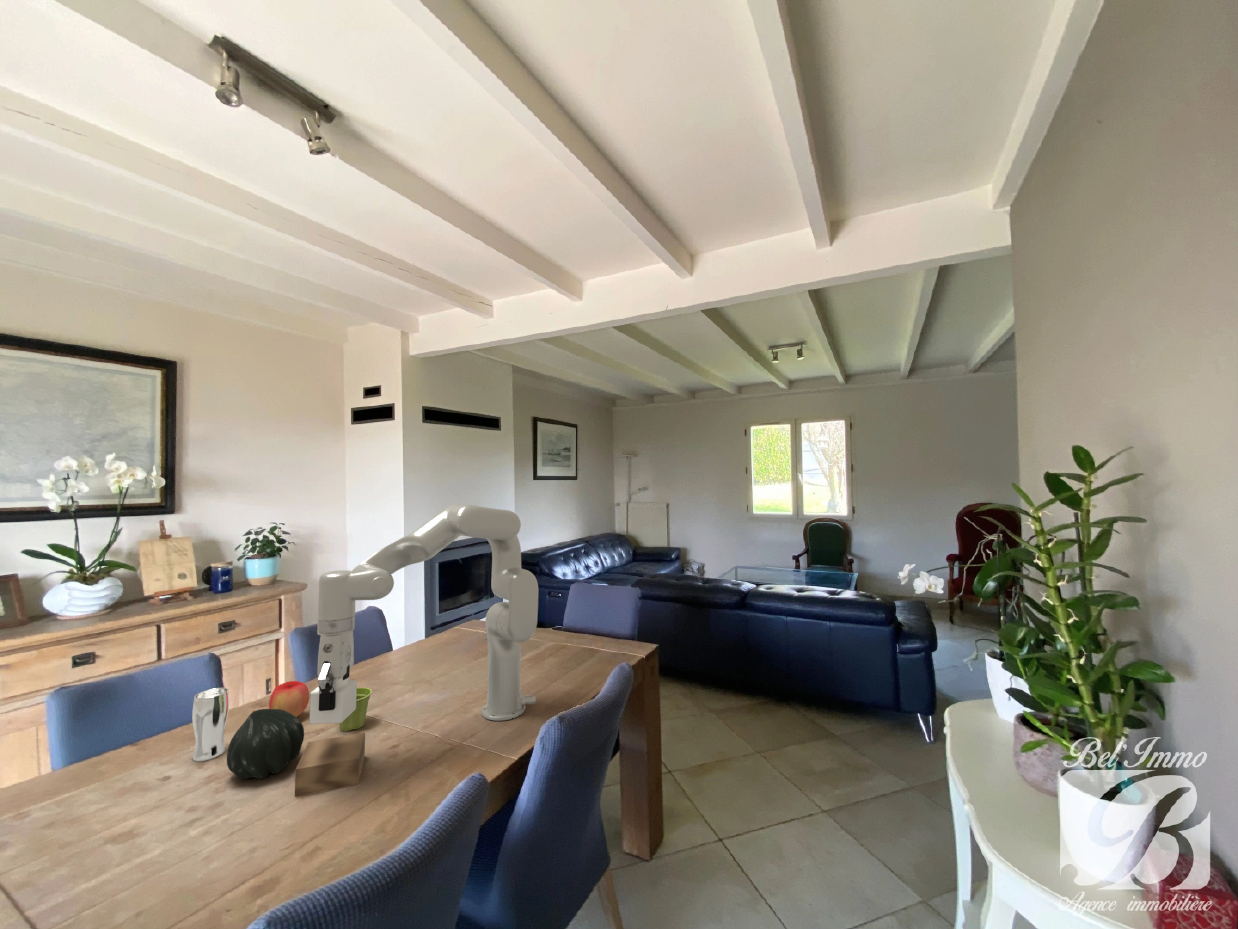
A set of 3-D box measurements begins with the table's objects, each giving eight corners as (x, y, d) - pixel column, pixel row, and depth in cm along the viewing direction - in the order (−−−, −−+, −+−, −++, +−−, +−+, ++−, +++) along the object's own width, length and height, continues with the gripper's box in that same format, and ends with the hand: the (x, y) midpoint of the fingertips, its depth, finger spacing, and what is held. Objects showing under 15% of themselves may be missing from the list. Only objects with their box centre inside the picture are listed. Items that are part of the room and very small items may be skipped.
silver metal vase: (233, 750, 121) (236, 689, 122) (202, 765, 114) (204, 700, 115) (215, 745, 123) (217, 685, 124) (183, 759, 117) (186, 696, 117)
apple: (260, 723, 135) (262, 687, 135) (296, 709, 143) (297, 675, 144) (279, 731, 130) (281, 693, 131) (315, 716, 139) (316, 681, 139)
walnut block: (364, 757, 118) (365, 732, 118) (357, 785, 107) (358, 757, 107) (307, 768, 113) (308, 742, 114) (294, 798, 102) (295, 769, 103)
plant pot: (354, 736, 127) (355, 703, 128) (324, 733, 129) (325, 700, 130) (378, 720, 137) (379, 689, 137) (350, 716, 138) (350, 686, 139)
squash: (326, 726, 122) (283, 684, 120) (297, 761, 107) (248, 714, 106) (280, 767, 120) (236, 726, 118) (244, 809, 105) (193, 762, 104)
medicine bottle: (325, 710, 114) (326, 659, 115) (356, 709, 115) (357, 658, 115) (308, 725, 107) (310, 670, 108) (341, 723, 108) (343, 669, 108)
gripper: (340, 634, 104) (338, 717, 103) (365, 614, 121) (363, 685, 120) (302, 637, 103) (299, 721, 102) (332, 616, 120) (330, 688, 119)
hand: (333, 701), depth 111 cm, fingers closed on medicine bottle, 7 cm apart
